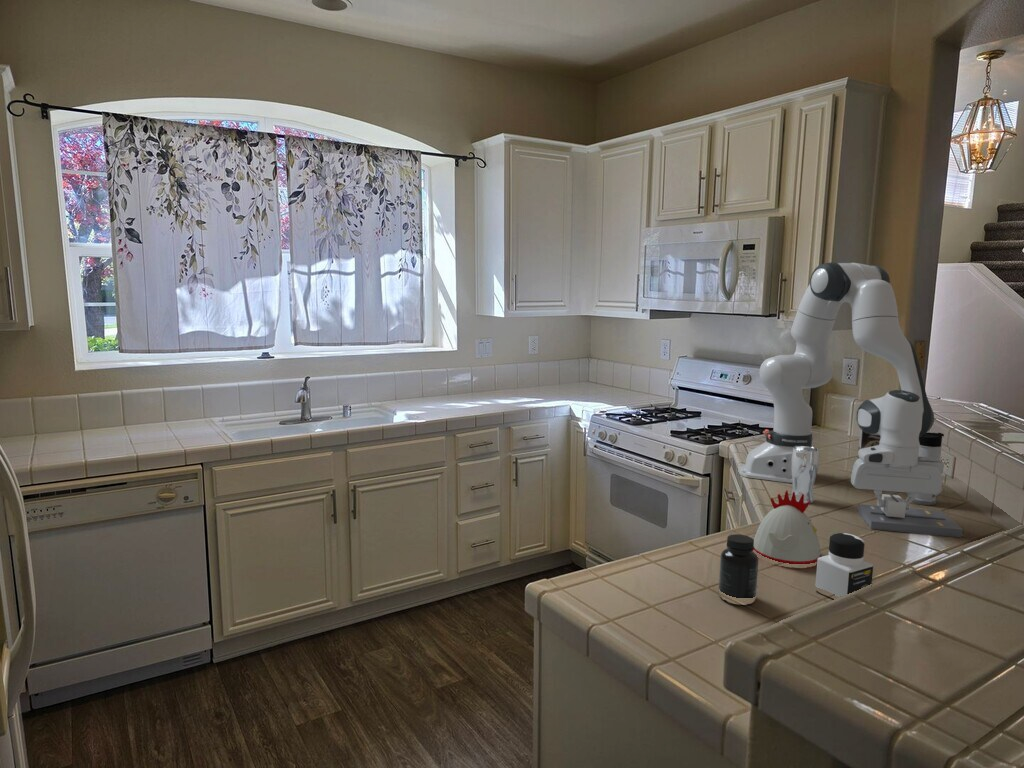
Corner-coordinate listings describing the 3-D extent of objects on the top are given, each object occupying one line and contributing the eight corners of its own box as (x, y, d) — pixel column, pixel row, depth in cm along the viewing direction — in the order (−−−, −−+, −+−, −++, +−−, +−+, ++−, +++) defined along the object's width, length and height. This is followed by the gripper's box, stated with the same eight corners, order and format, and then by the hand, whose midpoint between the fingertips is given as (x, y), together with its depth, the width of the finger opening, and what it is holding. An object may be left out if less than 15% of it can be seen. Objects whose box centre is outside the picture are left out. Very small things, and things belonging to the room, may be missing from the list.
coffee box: (858, 471, 220) (862, 423, 218) (856, 466, 226) (860, 419, 224) (889, 474, 217) (894, 425, 214) (886, 469, 223) (891, 422, 220)
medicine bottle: (846, 607, 125) (852, 546, 124) (814, 591, 132) (818, 533, 130) (871, 599, 129) (876, 539, 127) (838, 584, 135) (843, 527, 133)
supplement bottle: (747, 590, 132) (751, 532, 130) (761, 606, 125) (765, 545, 123) (713, 590, 132) (716, 532, 130) (725, 606, 125) (729, 545, 123)
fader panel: (870, 529, 167) (871, 520, 166) (857, 511, 180) (857, 503, 180) (961, 537, 162) (962, 529, 161) (940, 518, 175) (941, 510, 175)
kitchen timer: (814, 574, 140) (819, 505, 138) (746, 559, 147) (750, 493, 145) (823, 552, 152) (828, 488, 149) (760, 539, 159) (764, 478, 157)
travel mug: (940, 506, 185) (948, 435, 182) (914, 504, 186) (921, 434, 183) (931, 499, 191) (938, 431, 188) (906, 497, 192) (912, 429, 189)
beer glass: (815, 498, 191) (819, 447, 189) (815, 505, 184) (819, 452, 182) (789, 495, 194) (792, 444, 191) (788, 501, 187) (791, 449, 185)
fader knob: (887, 516, 169) (888, 500, 168) (880, 508, 175) (882, 493, 174) (904, 517, 168) (906, 502, 167) (897, 510, 174) (899, 494, 173)
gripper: (940, 455, 169) (934, 507, 171) (851, 449, 175) (847, 500, 177) (949, 461, 163) (943, 515, 165) (857, 455, 169) (852, 507, 171)
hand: (893, 507), depth 171 cm, fingers closed on fader knob, 4 cm apart
